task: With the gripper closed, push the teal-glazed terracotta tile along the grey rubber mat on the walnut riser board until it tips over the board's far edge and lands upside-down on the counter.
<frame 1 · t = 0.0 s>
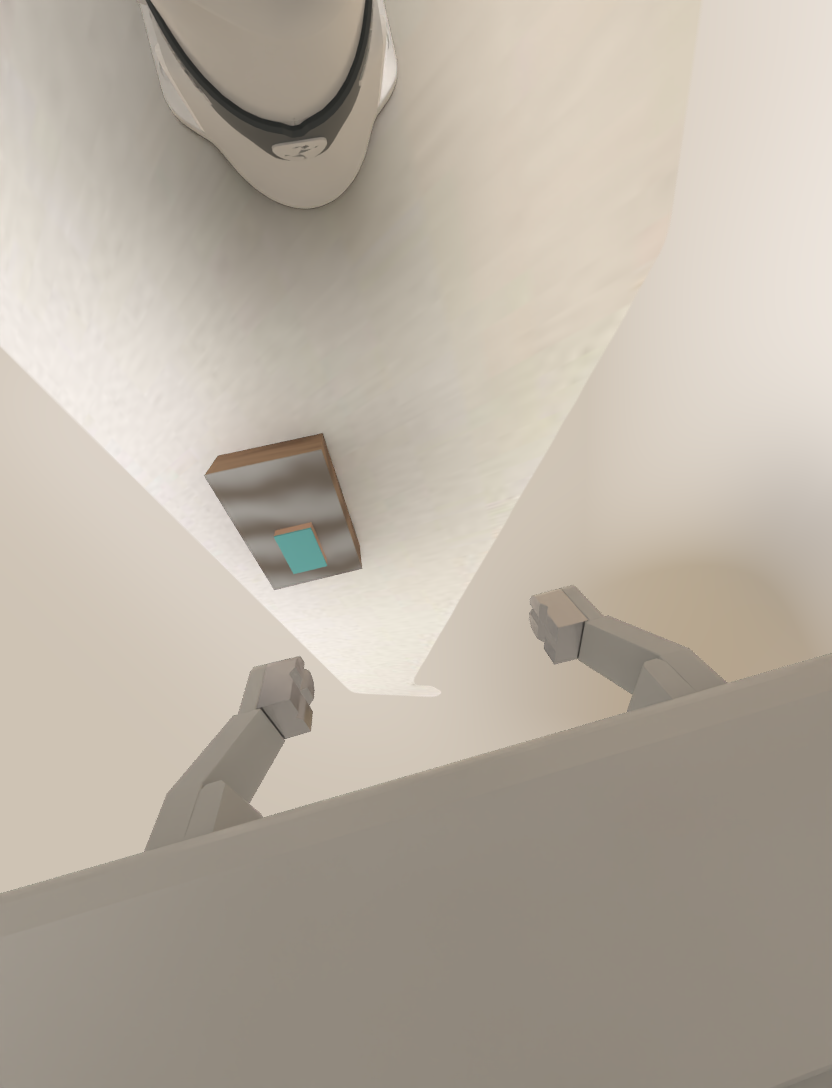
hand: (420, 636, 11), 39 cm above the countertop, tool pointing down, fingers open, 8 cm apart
riser board: (298, 506, 50), on the countertop
tile: (302, 545, 47), point 6 cm above the countertop, touching riser board
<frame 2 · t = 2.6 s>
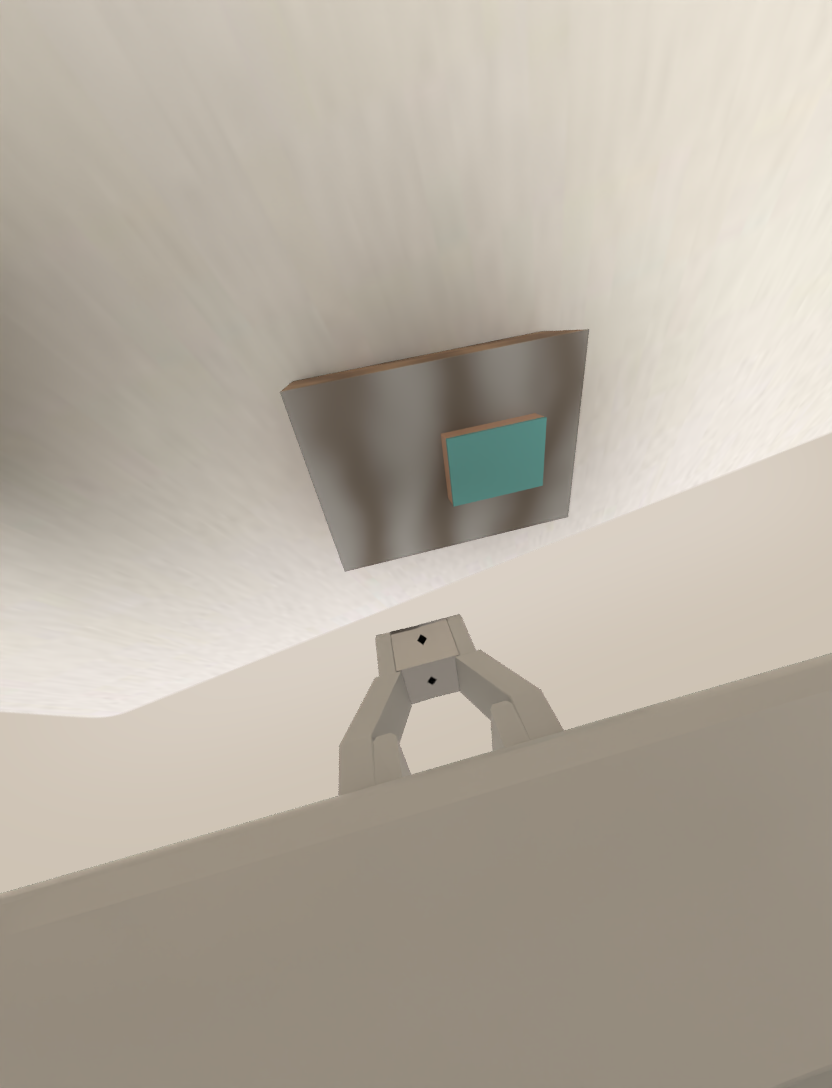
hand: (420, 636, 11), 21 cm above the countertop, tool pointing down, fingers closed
riser board: (432, 444, 29), on the countertop
tile: (489, 457, 24), point 6 cm above the countertop, touching riser board
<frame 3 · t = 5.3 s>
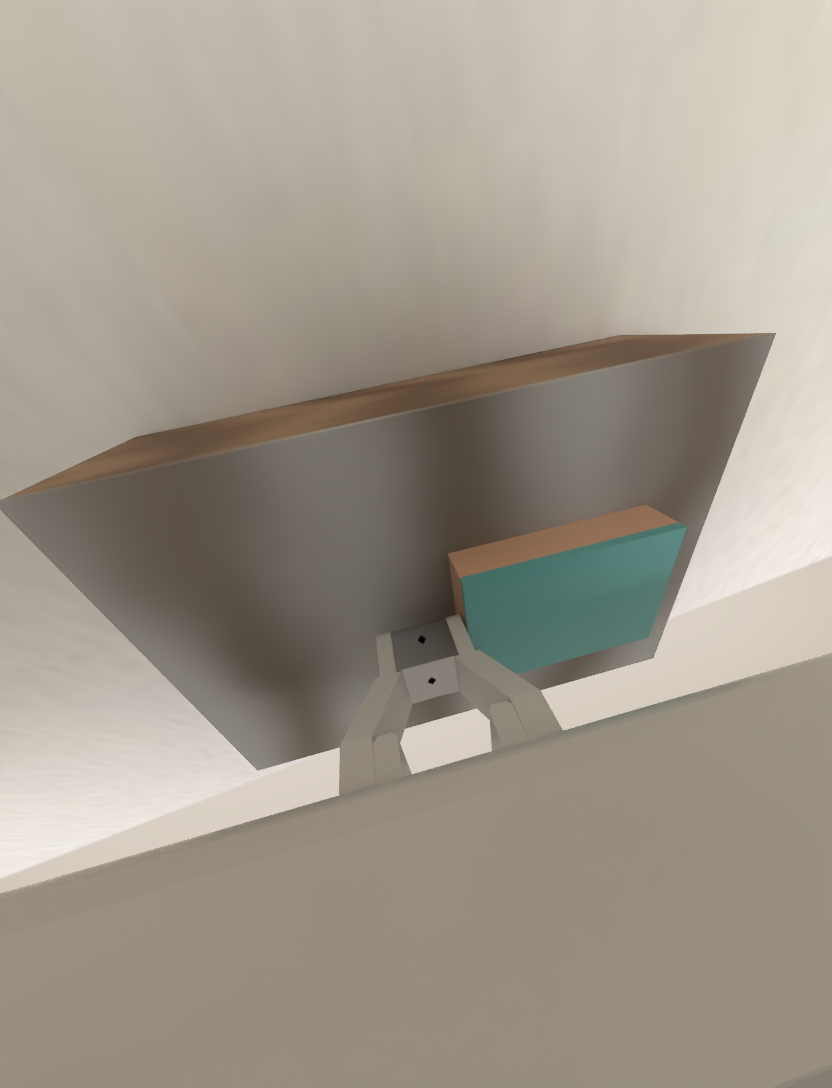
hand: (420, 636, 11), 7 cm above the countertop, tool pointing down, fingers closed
riser board: (417, 530, 17), on the countertop
tile: (544, 584, 12), point 6 cm above the countertop
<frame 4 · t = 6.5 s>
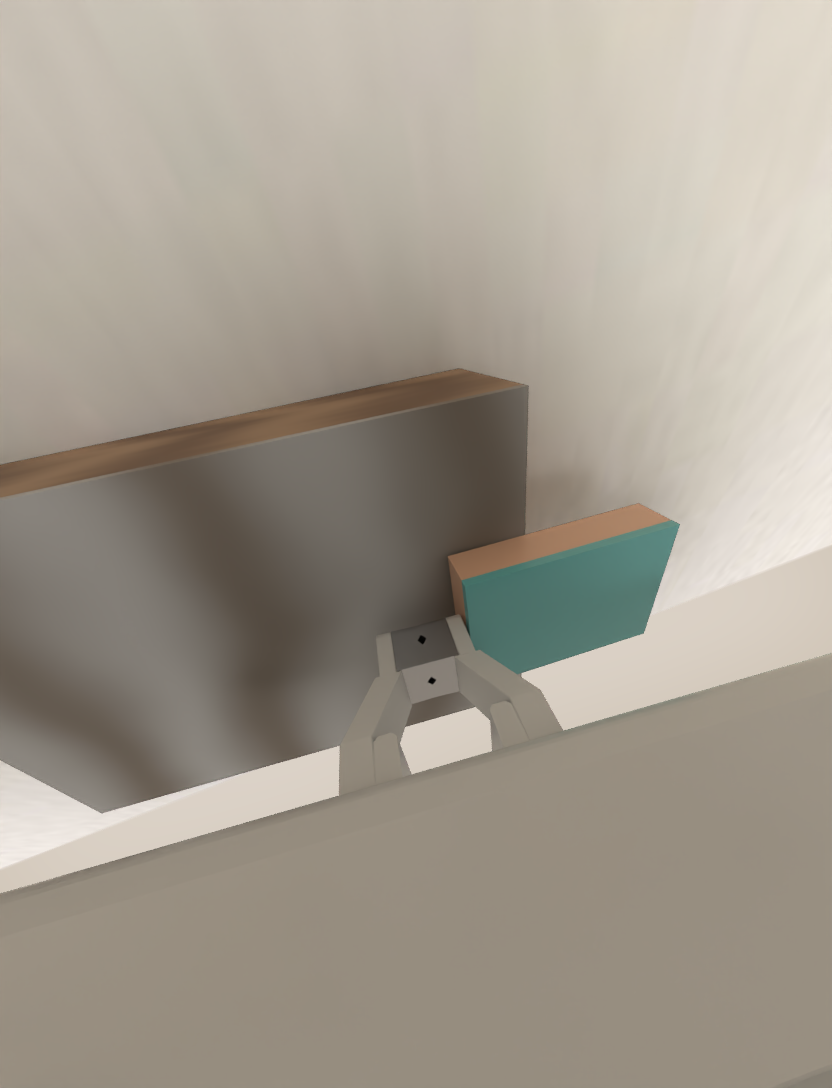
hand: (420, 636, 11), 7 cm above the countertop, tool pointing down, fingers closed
riser board: (282, 562, 17), on the countertop
tile: (542, 584, 12), point 6 cm above the countertop, touching gripper
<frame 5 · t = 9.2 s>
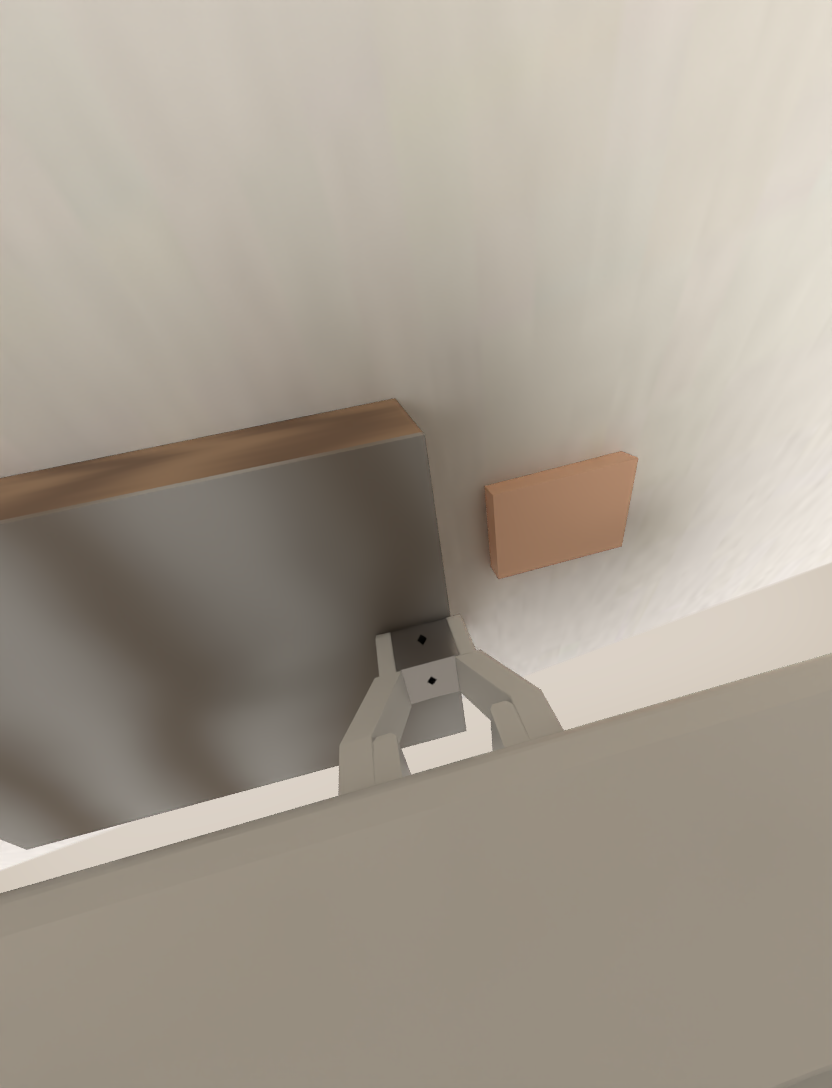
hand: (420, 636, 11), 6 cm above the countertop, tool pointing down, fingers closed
riser board: (224, 589, 16), on the countertop
tile: (563, 523, 16), point 1 cm above the countertop, tilted 180°
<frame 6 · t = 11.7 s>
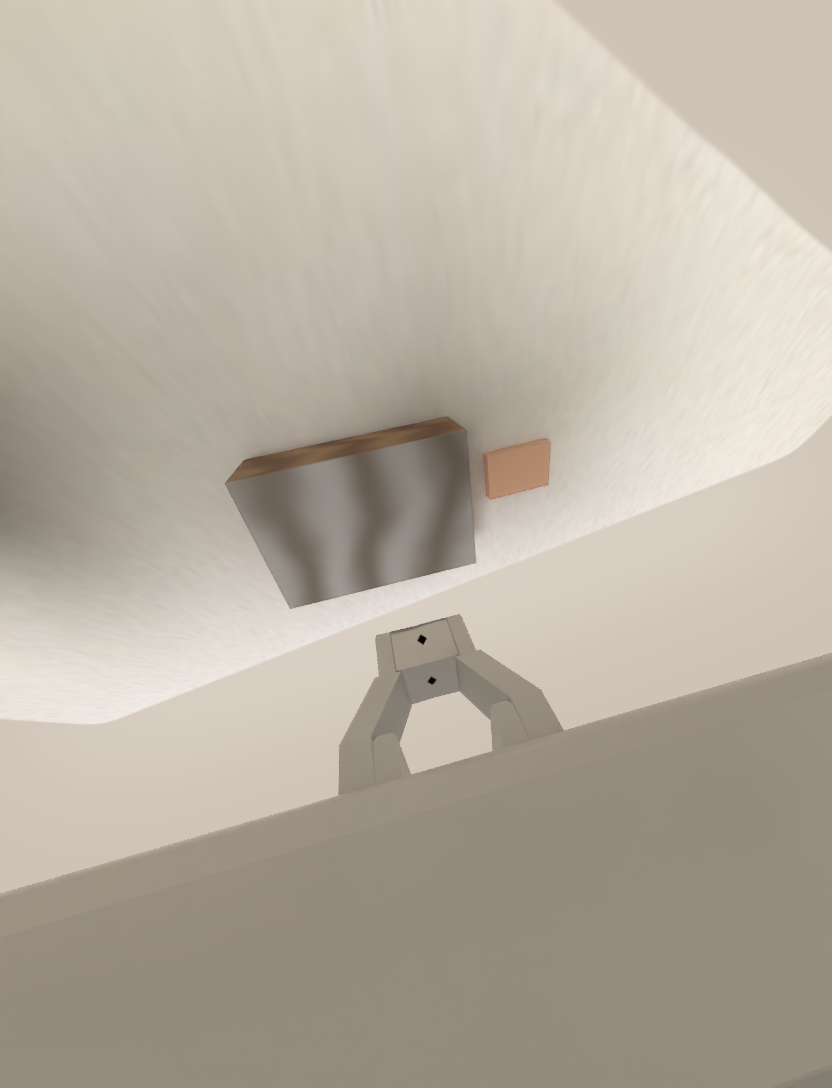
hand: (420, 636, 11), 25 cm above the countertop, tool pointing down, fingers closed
riser board: (365, 502, 35), on the countertop
tile: (519, 471, 36), point 1 cm above the countertop, tilted 180°
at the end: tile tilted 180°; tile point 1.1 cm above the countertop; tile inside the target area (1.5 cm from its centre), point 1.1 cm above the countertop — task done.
